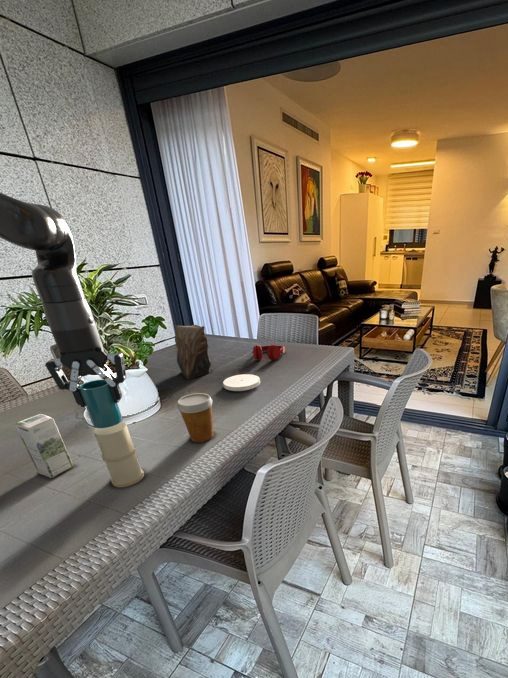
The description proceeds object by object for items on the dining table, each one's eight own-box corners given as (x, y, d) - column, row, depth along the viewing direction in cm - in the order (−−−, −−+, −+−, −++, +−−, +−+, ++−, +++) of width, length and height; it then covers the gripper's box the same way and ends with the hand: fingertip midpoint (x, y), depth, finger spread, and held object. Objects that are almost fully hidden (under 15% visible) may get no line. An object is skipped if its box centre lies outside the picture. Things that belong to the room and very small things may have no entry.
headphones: (280, 361, 162) (287, 354, 181) (279, 345, 160) (286, 340, 178) (248, 361, 163) (259, 355, 182) (247, 346, 161) (257, 341, 180)
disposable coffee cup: (220, 427, 107) (213, 391, 102) (217, 443, 99) (209, 404, 93) (188, 431, 106) (179, 394, 100) (182, 447, 98) (172, 408, 92)
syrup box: (61, 461, 93) (38, 412, 86) (75, 467, 91) (52, 416, 84) (38, 473, 89) (12, 422, 82) (52, 479, 86) (26, 427, 79)
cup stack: (105, 485, 83) (84, 433, 77) (126, 468, 89) (109, 419, 83) (130, 489, 82) (111, 437, 75) (150, 471, 88) (134, 421, 81)
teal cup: (86, 427, 76) (71, 388, 72) (107, 415, 81) (94, 378, 77) (108, 429, 75) (94, 390, 71) (128, 417, 80) (116, 380, 76)
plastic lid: (222, 383, 141) (221, 377, 140) (257, 378, 145) (256, 372, 144) (225, 395, 129) (224, 389, 128) (263, 390, 133) (262, 383, 132)
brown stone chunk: (178, 372, 155) (167, 326, 146) (206, 366, 161) (198, 321, 152) (187, 379, 146) (176, 331, 137) (216, 373, 152) (207, 326, 143)
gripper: (117, 317, 73) (140, 392, 81) (38, 324, 70) (70, 401, 78) (108, 325, 66) (133, 405, 74) (21, 332, 63) (57, 415, 71)
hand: (101, 403), depth 76 cm, fingers closed on teal cup, 6 cm apart
